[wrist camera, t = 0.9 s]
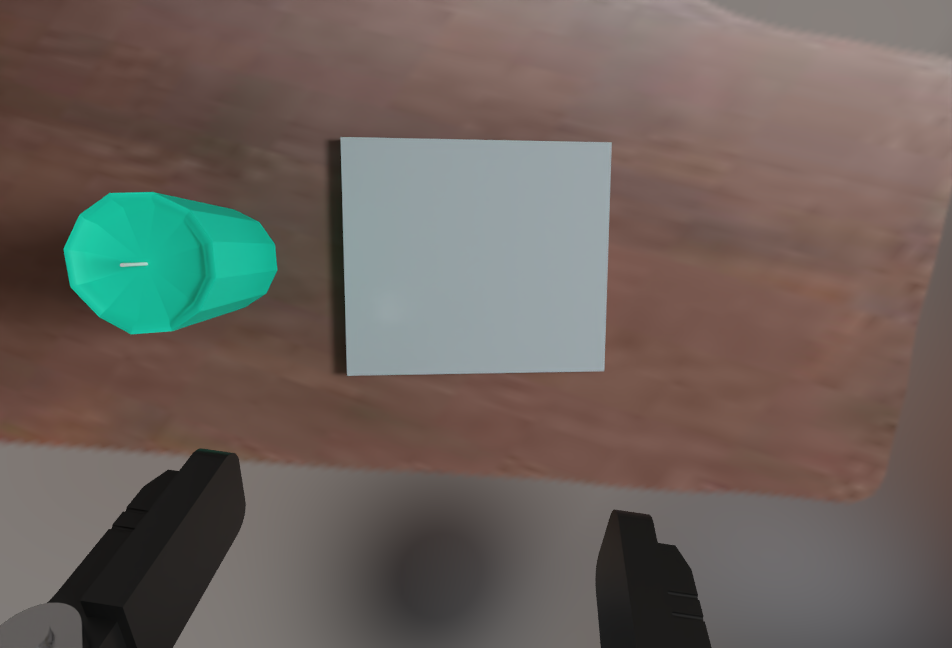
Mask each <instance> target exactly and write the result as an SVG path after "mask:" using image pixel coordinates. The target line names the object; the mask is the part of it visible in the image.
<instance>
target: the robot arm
mask: <svg viewBox="0 0 952 648" xmlns="http://www.w3.org/2000/svg"><path fill="white" fill-rule="evenodd" d="M245 506H246V505H245V496H244V490H243V483H242V477H241V471H240V464H239V459H238V456H237V455H236V454H235V453H229V452H222V451H215V450H208V449H198V450H196V451H195V452H194V453H193V454H192V455H191V456H190V458H189V459H188V460H187V462H186V463H185V464H184V466H183V467H182V468H181V469H180V471H174V470H167V471H166V472H164V473H163V474H161V475H160V476H158V477H157V478H155V479H154V480H152V481H151V482H150V483H148V484H147V485H145V486H144V487H143V488H142V489H141V490H140V492H139V493H138V494H137V495H136V497H135V498H134V499H133V500H132V501H131V503H130V504H129V505H128V506H127V509H126V511H125V512H122V514H121V515H120V516H119V517H118V519H117V520H116V521H115V522H114V523H113V526H112V529H109V530H108V531H107V532H106V533H105V535H104V536H103V537H102V538H101V539H100V541H99V542H98V543H97V544H96V545H95V547H94V548H93V549H92V550H91V552H90V553H89V554H88V555H87V556H86V558H85V559H84V560H83V561H82V563H81V564H80V565H79V566H78V567H77V569H76V570H75V571H74V572H73V574H72V575H71V576H70V577H69V579H68V580H67V581H66V582H65V583H64V585H63V586H62V587H61V588H60V589H59V591H58V592H57V593H56V594H55V595H54V597H52V599H51V600H50V601H49V602H47V603H46V604H41V605H37V606H34V607H31V608H28V609H26V610H24V611H22V612H20V613H18V614H16V615H14V616H13V617H12V618H10V619H8V620H7V621H5V622H4V623H3V624H2V625H0V648H173V646H174V645H175V643H176V641H177V639H178V637H179V636H180V634H181V632H182V631H183V629H184V627H185V625H186V623H187V622H188V620H189V618H190V616H191V615H192V613H193V611H194V610H195V608H196V606H197V604H198V602H199V601H200V599H201V597H202V596H203V594H204V592H205V590H206V589H207V587H208V585H209V583H210V582H211V580H212V578H213V576H214V574H215V573H216V570H217V569H218V568H219V566H220V564H221V562H222V561H223V559H224V557H225V555H226V553H227V552H228V550H229V548H230V547H231V545H232V543H233V541H234V540H235V538H236V536H237V534H238V532H239V530H240V528H241V525H242V523H243V519H244V515H245ZM596 597H597V607H598V620H599V631H600V643H601V648H711V644H710V640H709V637H708V633H707V629H706V625H705V622H704V621H703V613H702V609H701V606H700V601H699V600H698V598H697V597H698V594H697V590H696V586H695V582H694V578H693V574H692V571H691V568H690V567H689V565H688V564H687V562H686V561H685V559H684V558H683V556H682V555H681V553H680V552H679V551H678V549H677V547H676V546H675V545H668V544H661V543H658V542H657V538H656V533H655V528H654V523H653V520H652V517H651V516H650V515H647V514H641V513H634V512H628V511H621V510H613V511H612V513H611V516H610V519H609V522H608V525H607V529H606V532H605V536H604V539H603V542H602V545H601V549H600V552H599V556H598V560H597V566H596Z"/></svg>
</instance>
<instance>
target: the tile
mask: <svg viewBox="0 0 952 648" xmlns="http://www.w3.org/2000/svg"><path fill="white" fill-rule="evenodd" d="M611 145H612V143H610V142H560V141H511V140H461V139H411V138H361V137H341V172H342V209H343V245H344V282H345V319H346V355H347V376H355V375H412V374H469V373H527V372H584V371H604V362H605V331H606V300H607V269H608V238H609V207H610V176H611Z"/></svg>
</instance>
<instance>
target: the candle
mask: <svg viewBox="0 0 952 648" xmlns="http://www.w3.org/2000/svg"><path fill="white" fill-rule="evenodd" d="M64 255H65V261H66V266H67V272H68V277H69V283H70V287H71V288H72V289H73V290H74V291H75V292H76V293H77V295H78V296H79V297H80V298H81V299H82V300H83V301H84V302H85V303H86V304H87V305H88V306H89V307H90V308H91V309H92V310H93V311H94V312H95V313H96V314H97V315H98V316H99V317H100V318H102V319H104V320H105V321H107V322H109V323H111V324H113V325H115V326H117V327H118V328H120V329H122V330H124V331H126V332H128V333H130V334H142V333H154V332H167V331H174V330H177V329H180V328H183V327H186V326H189V325H192V324H196V323H199V322H202V321H205V320H208V319H211V318H214V317H217V316H220V315H223V314H226V313H229V312H233V311H236V310H239V309H242V308H245V307H246V306H248V305H249V304H251V303H252V302H254V301H255V300H257V299H258V298H260V297H262V296H263V295H265V294H266V293H267V291H268V289H269V287H270V285H271V283H272V280H273V278H274V276H275V274H276V272H277V261H276V251H275V244H274V242H273V241H272V239H271V238H270V237H269V235H268V234H267V232H266V231H265V230H264V228H263V227H262V225H261V224H260V222H258V221H256V220H254V219H252V218H250V217H248V216H246V215H244V214H242V213H240V212H238V211H236V210H234V209H229V208H224V207H220V206H215V205H210V204H206V203H201V202H197V201H192V200H187V199H183V198H178V197H173V196H169V195H164V194H159V193H155V192H135V193H109V194H108V195H106V196H105V197H103V198H102V199H101V200H99V201H98V202H96V203H95V204H94V205H92V206H91V207H89V208H88V209H87V210H85V211H84V212H82V213H81V214H80V215H79V217H78V219H77V221H76V223H75V225H74V228H73V230H72V232H71V234H70V236H69V238H68V240H67V242H66V245H65V247H64Z"/></svg>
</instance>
